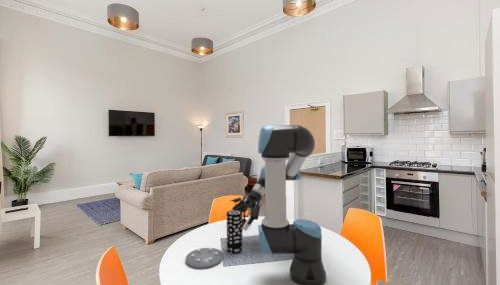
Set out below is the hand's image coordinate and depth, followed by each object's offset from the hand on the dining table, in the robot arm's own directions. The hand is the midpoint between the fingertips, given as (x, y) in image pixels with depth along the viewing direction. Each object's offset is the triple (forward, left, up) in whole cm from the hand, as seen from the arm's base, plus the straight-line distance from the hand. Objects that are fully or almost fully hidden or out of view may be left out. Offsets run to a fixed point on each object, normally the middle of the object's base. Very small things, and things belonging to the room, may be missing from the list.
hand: (236, 225), depth 128 cm
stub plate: (+1, +19, -12) cm, 23 cm away
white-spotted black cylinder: (-1, +2, -12) cm, 13 cm away
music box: (+24, -22, -12) cm, 35 cm away
